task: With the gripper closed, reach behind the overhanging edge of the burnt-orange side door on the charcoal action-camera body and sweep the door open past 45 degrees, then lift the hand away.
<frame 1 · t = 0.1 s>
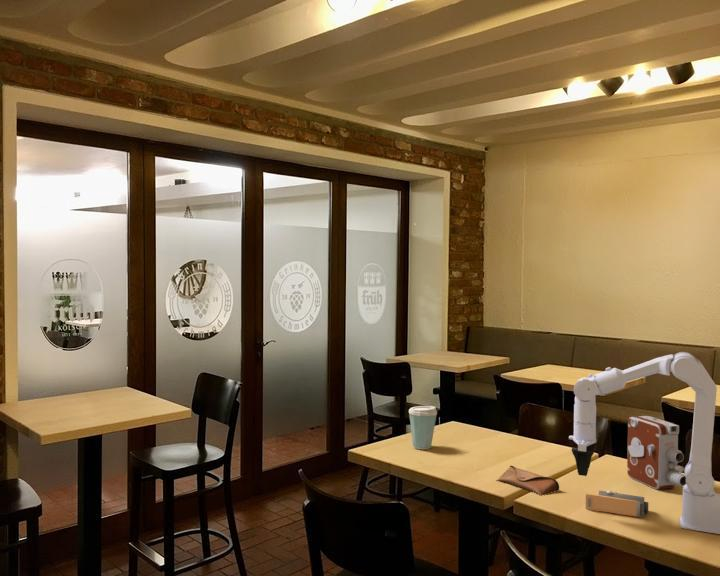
hand: (583, 471, 170), 10 cm above the table, tool pointing down, fingers open, 7 cm apart
disposable coffee cup: (422, 447, 229), on the table
cine camera: (656, 486, 190), on the table
sunglasses case: (526, 487, 188), on the table
side door: (612, 505, 166), point 2 cm above the table, hinge at 0.0°
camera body: (620, 509, 169), on the table
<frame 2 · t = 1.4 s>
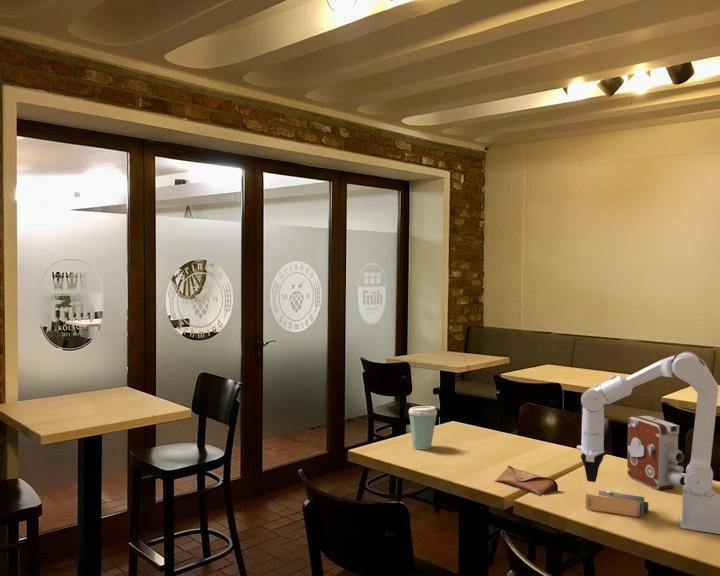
hand: (591, 481, 172), 7 cm above the table, tool pointing down, fingers closed
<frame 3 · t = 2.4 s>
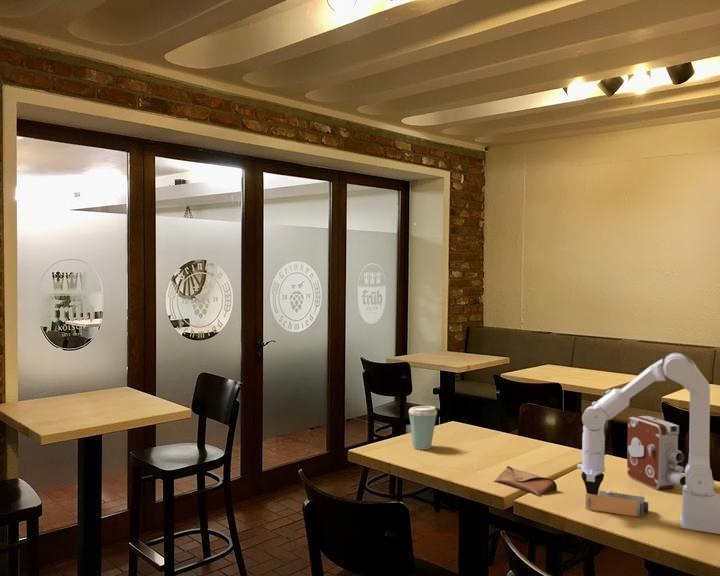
hand: (592, 500, 170), 2 cm above the table, tool pointing down, fingers closed
side door: (612, 505, 166), point 2 cm above the table, hinge at 0.0°, touching gripper
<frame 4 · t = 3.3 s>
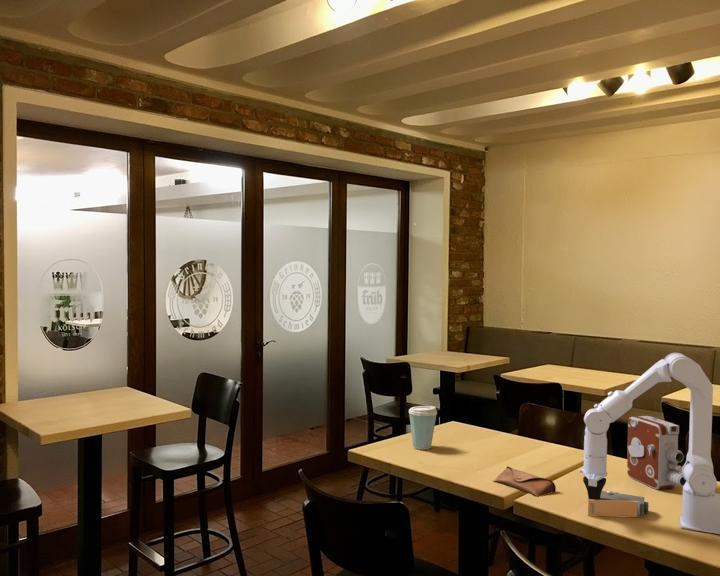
hand: (594, 505, 166), 2 cm above the table, tool pointing down, fingers closed
side door: (614, 508, 164), point 2 cm above the table, hinge at 21.7°, touching gripper
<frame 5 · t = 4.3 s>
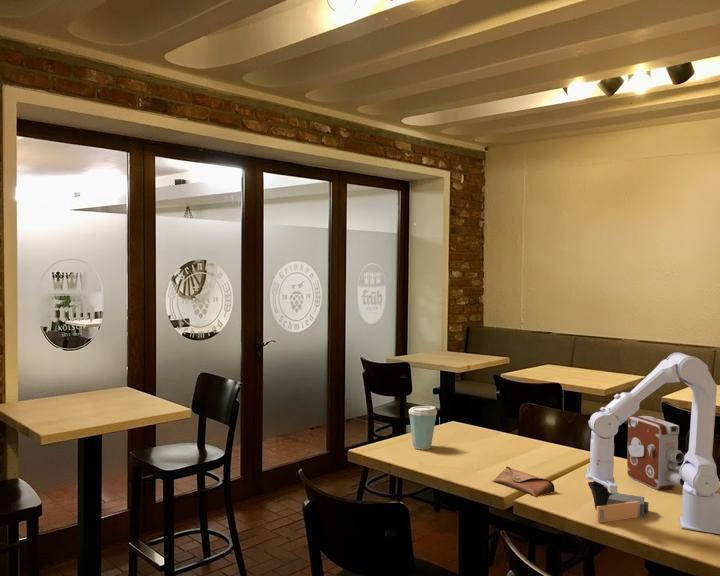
hand: (600, 511, 162), 2 cm above the table, tool pointing down, fingers closed
side door: (619, 511, 162), point 2 cm above the table, hinge at 43.4°, touching gripper
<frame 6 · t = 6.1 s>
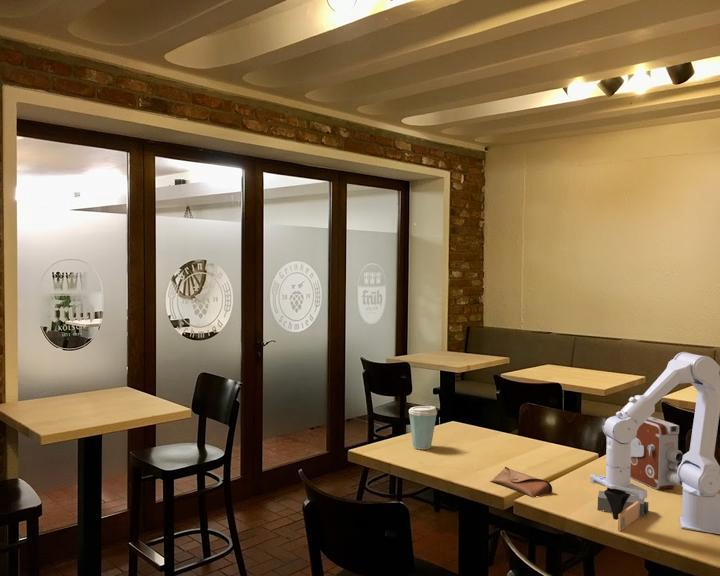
hand: (616, 518, 157), 2 cm above the table, tool pointing down, fingers closed
side door: (630, 515, 159), point 2 cm above the table, hinge at 71.6°, touching gripper
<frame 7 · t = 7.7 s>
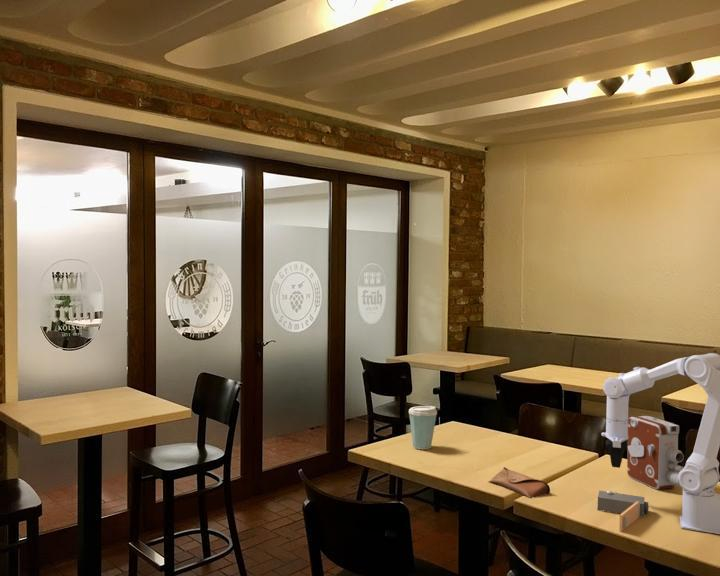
hand: (615, 466, 177), 9 cm above the table, tool pointing down, fingers closed
side door: (630, 515, 159), point 2 cm above the table, hinge at 73.3°
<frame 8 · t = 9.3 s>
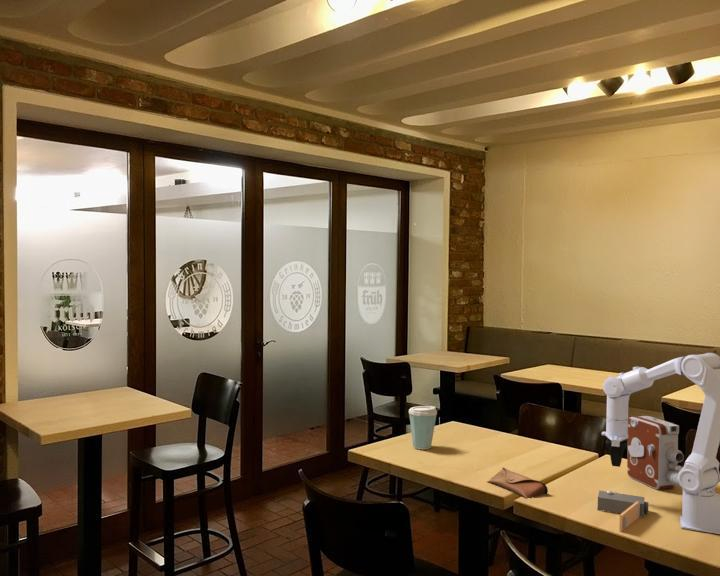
hand: (616, 465, 178), 9 cm above the table, tool pointing down, fingers closed
at the end: side door at +73° (first picture: +0°) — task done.
